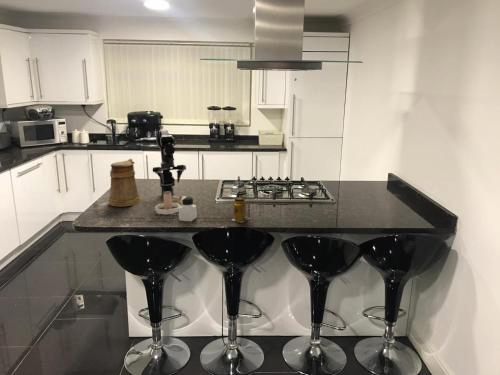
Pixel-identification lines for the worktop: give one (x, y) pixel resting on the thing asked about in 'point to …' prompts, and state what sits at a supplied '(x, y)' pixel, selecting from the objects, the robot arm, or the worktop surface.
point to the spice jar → (167, 200)
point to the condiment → (240, 210)
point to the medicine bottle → (187, 210)
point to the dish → (164, 211)
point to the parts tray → (177, 200)
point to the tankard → (123, 184)
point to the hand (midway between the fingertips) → (170, 183)
